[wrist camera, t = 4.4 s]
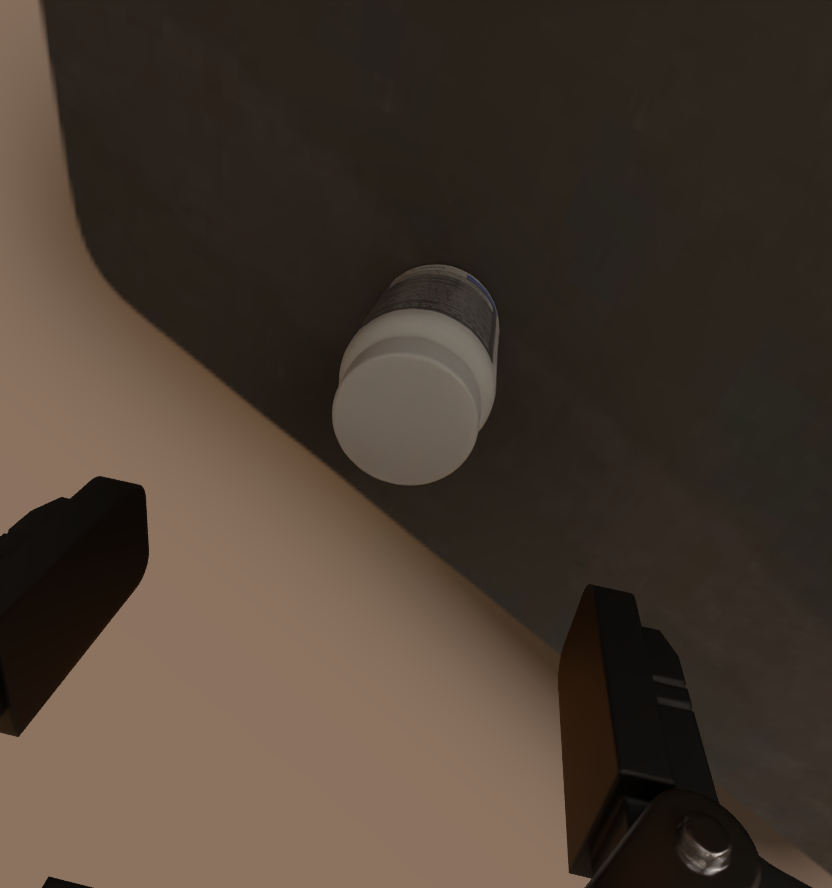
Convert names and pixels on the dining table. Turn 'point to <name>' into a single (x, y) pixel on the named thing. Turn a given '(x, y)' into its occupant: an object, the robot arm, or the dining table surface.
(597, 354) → the dining table surface
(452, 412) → the pill bottle
